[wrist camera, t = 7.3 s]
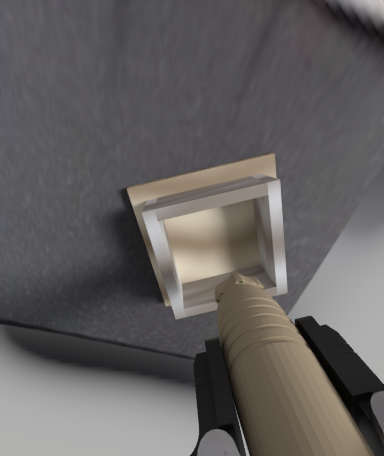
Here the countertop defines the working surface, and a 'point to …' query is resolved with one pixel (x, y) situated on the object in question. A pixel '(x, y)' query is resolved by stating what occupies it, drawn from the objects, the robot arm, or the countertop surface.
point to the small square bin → (213, 230)
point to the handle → (279, 379)
